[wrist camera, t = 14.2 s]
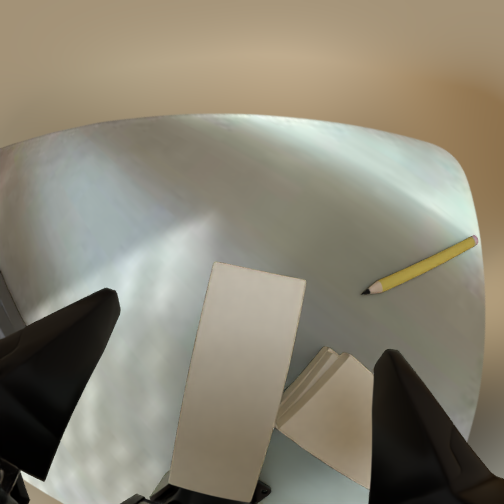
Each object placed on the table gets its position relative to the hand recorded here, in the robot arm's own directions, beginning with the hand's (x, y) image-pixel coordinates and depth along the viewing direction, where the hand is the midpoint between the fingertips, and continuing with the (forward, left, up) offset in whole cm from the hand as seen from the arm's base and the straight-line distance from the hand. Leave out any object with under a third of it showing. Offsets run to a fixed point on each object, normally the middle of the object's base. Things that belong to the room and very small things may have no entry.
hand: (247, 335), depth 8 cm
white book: (-1, +2, -11) cm, 11 cm away
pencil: (-8, -13, -11) cm, 18 cm away
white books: (-10, +1, -11) cm, 14 cm away
